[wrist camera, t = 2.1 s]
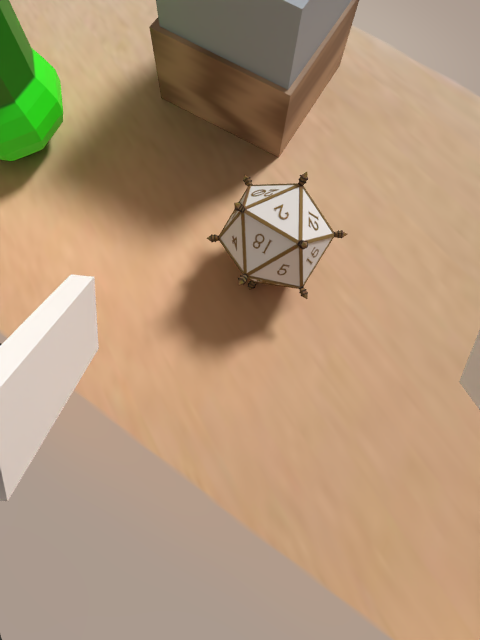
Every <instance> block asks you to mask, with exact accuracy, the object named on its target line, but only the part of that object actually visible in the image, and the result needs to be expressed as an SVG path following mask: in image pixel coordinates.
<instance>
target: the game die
mask: <svg viewBox="0 0 480 640" xmlns="http://www.w3.org/2000/svg"><path fill="white" fill-rule="evenodd" d="M300 176H301V177H300V179H299V183H298V184H267V185H252V183H251V182H252V180H250V177H247V176H246V175H244V180H243V181H244V182H245V184H246V185H247V186H248V188H247V189H246V191H245V193H244V194H243V196H242V198H241V199H240V201H239V202H238V203H234V204H235V210H234V211H233V213H232V215H231V216H230V218H229V220H228V221H227V223H226V225H225V226H224V228H223V230H222V231H221V233H220V235H219V236H217V235H212V234H211V236H209V237H208V238H207V239H209V240H210V241H212V242H214V241H215V242H216V241H220V242H221V244H222V245H223V247H224V248H225V249H226V251H227V252H228V254H229V255H230V256H231V258H232V259H233V261H234V262H235V264H236V265H237V266H238V268H239V269H240V271H241V272H242V274H243V275H242V276H240V278H238V280H239V285H241V284H244V283H246V281H247V278H248V279H250V280H251V281H250V283H249V284H248V286H249V290H250V289H252V288H255V285H256V284H255V283H256V282H257V283H264V284H271V285H278V286H284V287H291V288H298V289H300V292H299V293H301V296H303V297H304V298H306V299H307V293H308V292H307V291H306V289H305V288H304V285H305V283H306V281H307V280H308V278H309V277H310V275H311V273H312V272H313V270H314V268H315V267H316V265H317V264H318V262H319V260H320V259H321V257H322V255H323V254H324V252H325V251H326V249H327V247H328V246H329V244H330V243H331V241H332V239H333V238H334V237H337V238H342V237H344V236H346V235H347V234H346V233H345V232H343V231H342V230H341V231H339V230H338V231H337V232H334V231H333V230H332V228H331V227H330V225H329V224H328V222H327V221H326V219H325V218H324V216H323V215H322V213H321V212H320V210H319V209H318V207H317V206H316V204H315V203H314V201H313V200H312V198H311V197H310V195H309V194H308V192H307V191H306V189H305V188H304V186H303V185H304V184H305V183H306V181H307V180H308V177H307V172H306V173H304V174H303V175H300Z"/></svg>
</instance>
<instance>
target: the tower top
mask: <svg viewBox="0 0 480 640" xmlns="http://www.w3.org/2000/svg"><path fill="white" fill-rule="evenodd" d="M351 1H352V0H156V4H157V11H158V18H159V25H160V27H162V28H164V29H166V30H168V31H170V32H172V33H174V34H176V35H178V36H180V37H182V38H184V39H186V40H188V41H190V42H192V43H194V44H196V45H198V46H200V47H202V48H204V49H206V50H208V51H210V52H212V53H214V54H216V55H218V56H220V57H222V58H224V59H226V60H228V61H230V62H232V63H234V64H236V65H238V66H240V67H243V68H245V69H247V70H249V71H251V72H253V73H255V74H257V75H259V76H261V77H263V78H265V79H267V80H269V81H271V82H273V83H275V84H277V85H279V86H281V87H283V88H285V89H287V90H288V89H289V88H290V86H291V85H292V84H293V82H294V81H295V79H296V78H297V77H298V75H299V74H300V72H301V71H302V70H303V68H304V67H305V65H306V64H307V63H308V61H309V60H310V58H311V57H312V55H313V54H314V53H315V51H316V50H317V48H318V47H319V46H320V44H321V43H322V41H323V40H324V39H325V37H326V36H327V34H328V33H329V32H330V30H331V29H332V27H333V26H334V24H335V23H336V22H337V20H338V19H339V17H340V16H341V15H342V13H343V12H344V10H345V9H346V8H347V6H348V5H349V3H350V2H351Z"/></svg>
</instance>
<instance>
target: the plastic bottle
mask: <svg viewBox="0 0 480 640" xmlns="http://www.w3.org/2000/svg"><path fill="white" fill-rule="evenodd" d="M62 122H63V106H62V95H61V85H60V80H59V78H58V75H57V73H56V71H55V69H54V68H53V67H52V66H51V65H50V64H49V63H48V62H47V61H46V60H45V59H44V58H43V57H42V56H40V55H39V54H38V53H37V52H36V51H35V50H33V49H32V48H31V46H30V44H29V42H28V40H27V38H26V36H25V34H24V31H23V29H22V27H21V25H20V23H19V21H18V19H17V16H16V14H15V12H14V10H13V8H12V6H11V4H10V1H9V0H0V160H7V161H15V160H17V159H20V158H23V157H25V156H28V155H30V154H33V153H35V152H38V151H40V150H42V149H43V148H44V147H45V146H46V144H47V143H48V141H49V140H50V139H51V137H52V136H53V135H54V133H55V132H56V131H57V129H58V128H59V126H60V125H61V123H62Z"/></svg>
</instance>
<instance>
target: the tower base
mask: <svg viewBox="0 0 480 640" xmlns="http://www.w3.org/2000/svg"><path fill="white" fill-rule="evenodd" d="M358 2H359V0H352V1H351V2H350V3H349V5H348V6H347V8H346V9H345V10H344V12H343V13H342V15H341V16H340V17H339V19H338V20H337V22H336V23H335V24H334V26H333V27H332V29H331V30H330V32H329V33H328V34H327V36H326V37H325V39H324V40H323V41H322V43H321V44H320V46H319V47H318V48H317V50H316V51H315V53H314V54H313V55H312V57H311V58H310V60H309V61H308V63H307V64H306V65H305V67H304V68H303V70H302V71H301V72H300V74H299V75H298V77H297V78H296V79H295V81H294V82H293V84H292V85H291V86H290V88H289V89H288V90H287V89H285V88H283V87H281V86H279V85H277V84H275V83H273V82H271V81H269V80H267V79H265V78H263V77H261V76H259V75H257V74H255V73H253V72H251V71H249V70H247V69H245V68H243V67H240V66H238V65H236V64H234V63H232V62H230V61H228V60H226V59H224V58H222V57H220V56H218V55H216V54H214V53H212V52H210V51H208V50H206V49H204V48H202V47H200V46H198V45H196V44H194V43H192V42H190V41H188V40H186V39H184V38H182V37H180V36H178V35H176V34H174V33H172V32H170V31H168V30H166V29H164V28H162V27H160V25H159V18H157V19H156V20H155V21H154V23H153V24H152V25H151V26H150V33H151V39H152V45H153V51H154V56H155V62H156V68H157V74H158V80H159V86H160V92H161V98H163V99H165V100H167V101H169V102H171V103H173V104H175V105H177V106H178V107H180V108H182V109H184V110H186V111H188V112H190V113H192V114H194V115H196V116H198V117H200V118H202V119H204V120H206V121H208V122H210V123H212V124H214V125H216V126H218V127H220V128H222V129H224V130H226V131H228V132H230V133H232V134H234V135H236V136H238V137H240V138H242V139H244V140H245V141H247V142H249V143H251V144H253V145H255V146H257V147H259V148H261V149H263V150H265V151H267V152H269V153H271V154H273V155H275V156H277V157H279V156H280V155H281V153H282V152H283V150H284V149H285V147H286V146H287V144H288V143H289V141H290V140H291V138H292V137H293V135H294V134H295V132H296V131H297V129H298V128H299V126H300V125H301V123H302V122H303V120H304V118H305V117H306V115H307V114H308V112H309V111H310V109H311V108H312V106H313V105H314V103H315V102H316V100H317V99H318V97H319V96H320V94H321V93H322V91H323V90H324V88H325V87H326V85H327V84H328V82H329V81H330V79H331V78H332V76H333V75H334V73H335V71H336V70H337V68H338V67H339V65H340V62H341V59H342V56H343V52H344V49H345V46H346V42H347V39H348V36H349V32H350V29H351V26H352V22H353V19H354V16H355V12H356V9H357V6H358Z"/></svg>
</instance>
